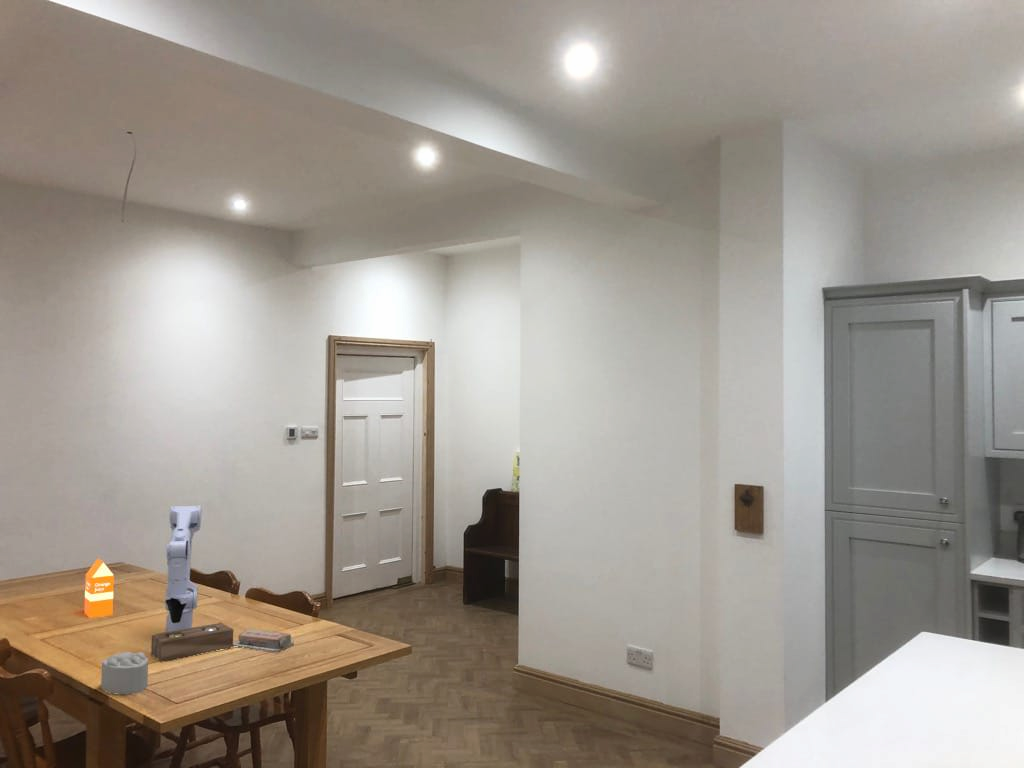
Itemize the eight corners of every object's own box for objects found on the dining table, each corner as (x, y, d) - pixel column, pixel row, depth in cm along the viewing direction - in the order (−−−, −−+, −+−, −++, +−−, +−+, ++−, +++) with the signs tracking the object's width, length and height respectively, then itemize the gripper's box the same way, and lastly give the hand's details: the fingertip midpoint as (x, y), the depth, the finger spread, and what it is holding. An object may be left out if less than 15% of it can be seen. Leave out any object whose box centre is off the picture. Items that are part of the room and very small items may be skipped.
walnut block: (151, 654, 241) (151, 634, 241) (220, 640, 256) (221, 622, 256) (161, 662, 233) (162, 642, 234) (232, 648, 248) (233, 629, 248)
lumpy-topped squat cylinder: (134, 677, 220) (135, 646, 221) (156, 687, 212) (157, 656, 213) (96, 686, 212) (97, 655, 213) (117, 698, 204) (118, 665, 204)
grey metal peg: (202, 646, 248) (202, 628, 248) (213, 644, 251) (213, 626, 251) (206, 649, 246) (207, 631, 246) (217, 647, 248) (218, 629, 248)
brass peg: (166, 653, 241) (167, 634, 241) (178, 651, 243) (179, 632, 244) (170, 656, 238) (171, 637, 238) (182, 654, 241) (183, 635, 241)
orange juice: (89, 618, 280) (91, 563, 281) (83, 613, 287) (85, 559, 287) (113, 614, 285) (115, 560, 286) (106, 609, 292) (108, 556, 293)
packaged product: (295, 631, 253) (277, 639, 244) (295, 645, 253) (276, 654, 244) (250, 625, 259) (230, 633, 250) (250, 639, 259) (230, 648, 250)
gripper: (198, 581, 239) (197, 625, 238) (182, 573, 250) (180, 615, 249) (175, 584, 234) (173, 629, 234) (159, 576, 245) (158, 619, 244)
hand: (175, 622), depth 241 cm, fingers closed
